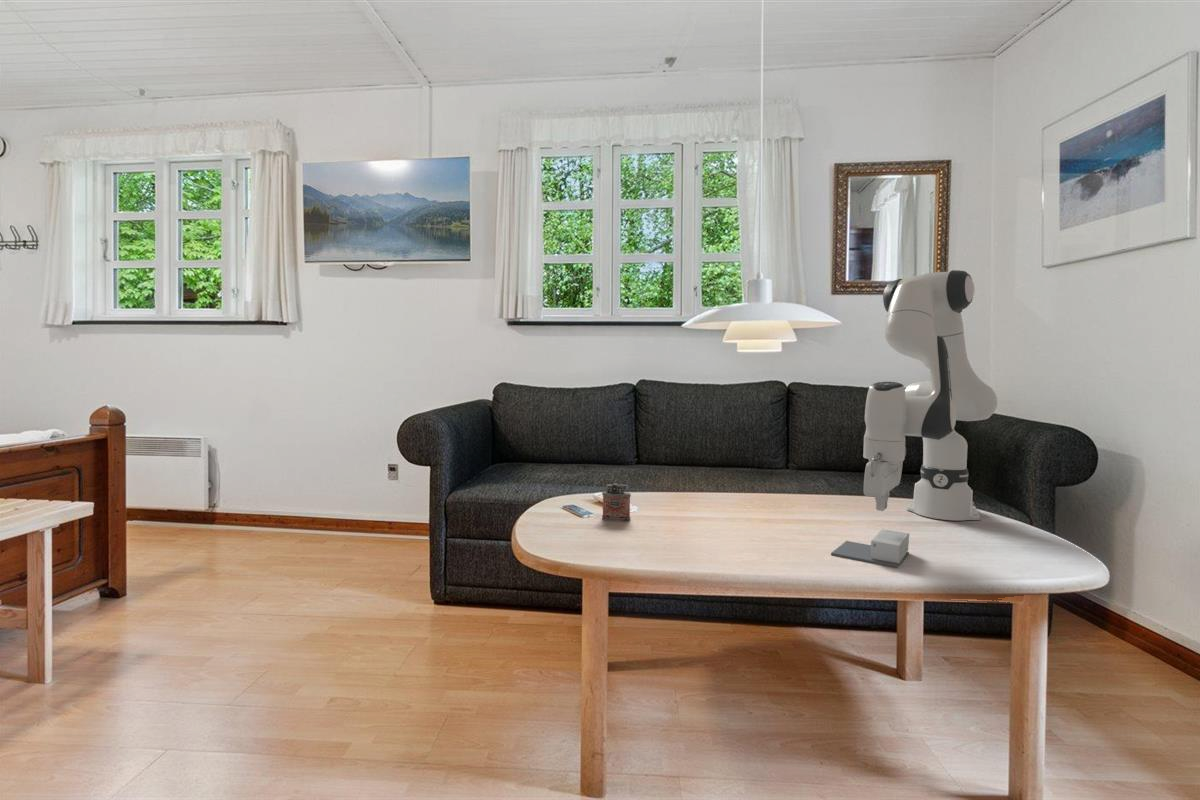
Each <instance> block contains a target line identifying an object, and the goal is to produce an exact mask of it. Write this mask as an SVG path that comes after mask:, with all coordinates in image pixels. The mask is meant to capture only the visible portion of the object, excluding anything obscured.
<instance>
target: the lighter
mask: <svg viewBox="0 0 1200 800" xmlns="http://www.w3.org/2000/svg"><path fill="white" fill-rule="evenodd" d="M628 490H629V485H628V484H618V483H613V484H606V491H602V494H601V495H602V515H601V519H602V520H604V521H605V520H606V521H610V522H611V521H612V522H630V521H631V515H630V513H631V496H632V495H631V493H630V492H626V491H628Z"/></svg>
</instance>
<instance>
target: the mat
mask: <svg viewBox="0 0 1200 800" xmlns="http://www.w3.org/2000/svg"><path fill="white" fill-rule="evenodd" d="M830 555H831V556H834V555H835V557H839V556H840V558H844V557H845V559H849V558H850V559H851V560H854V559H855V561H859V562H864V561H865V563H869V562H870V564H875V565H880V564H881V566H885V565H886V567H890V566H891V568H896V569H898V568H899V567H900V565H901V564H903V563H904V561H905V560H906V558H907V557H908V556H909V555H910V551H907V553H906V554H905V556H904V557H903V559H902V560H901V562H900V563H899V564H898V563H893V562H887V561H881V560H875V559H871V544H867V543H860V542H854V541H849V540H845V542H843V543H842V544H840V545H839V546H838V547H837V548H835V549H834V550H833V551H832V552H831V553H830ZM904 559H905V560H904ZM898 566H899V567H898Z"/></svg>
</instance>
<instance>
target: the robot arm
mask: <svg viewBox="0 0 1200 800" xmlns="http://www.w3.org/2000/svg"><path fill="white" fill-rule="evenodd" d="M974 284H975V283H974V281H973V279H972V276H971V274H969V273H968V272H967V271H965V270H958V269H957V270H955V269H954V270H951V271H938V272H937V271H936V272H928V273H927V272H926V273H924V274H919V275H915V276H914V275H913V276H910V277H906V278H898V279H895V280H892V281H890V282H889V283H888V284H887V285H886V286H885V288H884V290H883V293H882V294H883V295H882V299H883V300H882V302H883V306H884V309H885V311H886V312H887V314H886V319H885V327H884V328H885V329H884V337H885V340H886V342H887V344H888V345H889V346H890V347H891V348H892V349H893V350H894V351H896V352H898V353H899V354H901V355H904V356H906V357H910V358H912V359H915V360H918V361H920V362H922V364H923V365H924V366H925V367H926V368H927V369H929V370H930V380H924V381H917V382H912V383H910V384H908V385H907V386H906V388H905V385H904V384H902V383H899V382H896V381H881V382H880V381H877V382H875V383H872V384H870V385H869V386H868V390H867V395H866V400H865V408H864V422H865V432H864V435H863V449H862V450H863V453H862V455H863V458H864V459H867V460H868V462H867V463H866V465H865V469H864V477H863V494H864V496H865V497H869V498H870V497H871V498H872V497H873V498H874V500H875V503H876V504H875V505H876V506H875V509H876V511H879V512H884V511H885V510H886V509H888V501H889V498H890V492H891V490H893V489H895V487H897V486H899V484H900V482H901V478H902V474H903V473H902V472H903V464H904V463H903V462H904V461H905V457H906V455H907V448H906V437H907V436H908V437H920V438H921V437H922V445H923V446H922V449H923V451H922V454H923V455H922V464H921V467H920V477H921V478H920V480H918V481H917V482H915V483H914V490H913V500H912V501H913V502H912V504H910V505H907V506H906V511H909V512H911V513H912V512H913V513H915V514H916V515H919V516H921V517H922V516H923V517H925V518H926V517H927V518H929V519H936V520H941V521H942V520H944V521H956V522H957V521H958V522H960V521H980V520H981V515H980V514H979V511H978V509H977V508H976V506H975V502H974V501H973V493H974V492H973V489H972V488H971V487H970V485H968V481H969V469H968V468H967V466H968V465H967V464H968V462H967V461H968V448H969V446H968V442H967V440H966V438H964V436H963V435H961V434H959V432H957V431H956V429H955V426H956V422H957V421H962V422H975V421H976V422H977V421H983V420H988V419H990V417H991V416H993V415H994V413H995V412H996V409H997V407H998V406H997V405H998V397H997V394H996V392H995V391H994V389H993V388H992V387H991V386H989V385H987V384H986V383H985V382H984V381H982V380H981V378H979V376H978V374H976V373H975V371H974V369H973V368H972V366H971V364H970V361H969V358H968V354H967V348H966V340H965V331H964V330H965V329H964V322H963V317H962V312H963V310H965V309H967V308H968V307H969V306H970V305H971V304H972V302H973V300H974V295H975V285H974Z"/></svg>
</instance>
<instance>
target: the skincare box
mask: <svg viewBox="0 0 1200 800" xmlns="http://www.w3.org/2000/svg"><path fill="white" fill-rule="evenodd" d="M909 542H910V533H909V532H904V531H897V530H892V529H891V530H890V529H884V528H882V529H880V531H879V532H878V533H877V534H876V535H875V536H874V537H873V538H872V540H871V541H870V545H871V559H875V560H881V561H887V562H893V563H898V564H899V563H900V562H901V560H902V559H903V557H904V556H905V554H906V553H907V552H909V551H908V550H909V544H910V543H909Z"/></svg>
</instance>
